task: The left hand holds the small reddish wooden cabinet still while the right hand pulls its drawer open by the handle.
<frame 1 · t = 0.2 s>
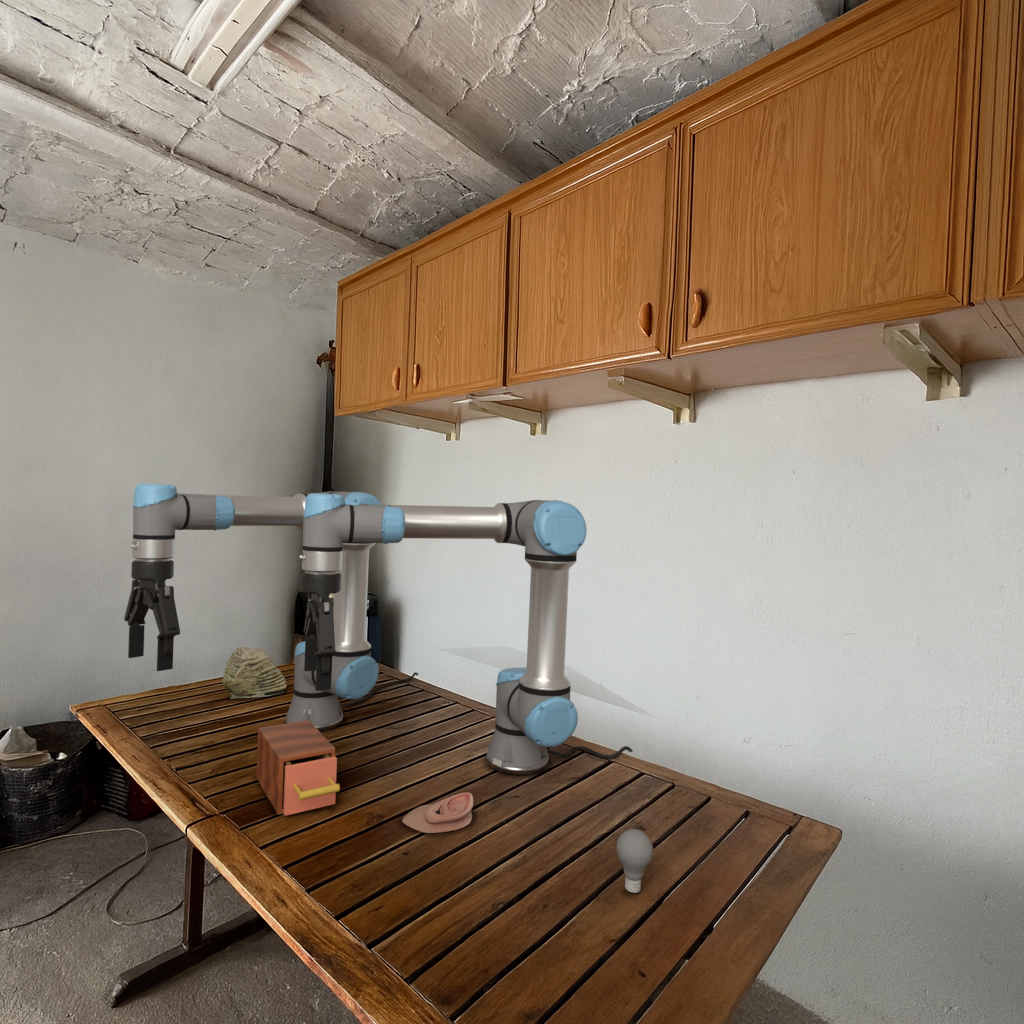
left hand: (149, 663, 129), 28 cm above the table, tool pointing down, fingers open, 13 cm apart
right hand: (316, 679, 125), 27 cm above the table, tool pointing down, fingers open, 13 cm apart
light bulb: (632, 891, 106), on the table
cabinet: (293, 789, 137), on the table
anatomical model: (438, 820, 126), on the table
fossil: (254, 694, 198), on the table
drawer: (302, 774, 131), point 6 cm above the table, slide at 1.7 cm
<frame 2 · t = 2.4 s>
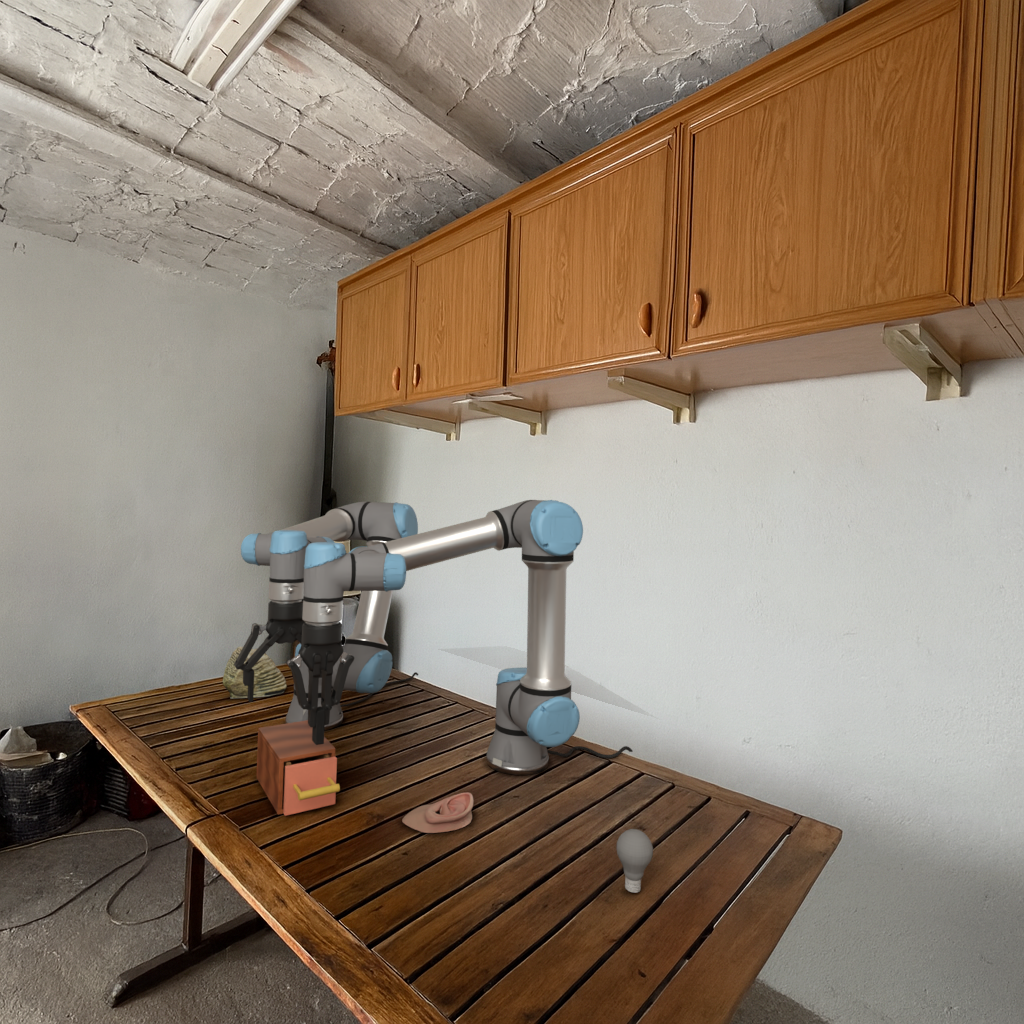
left hand: (283, 696, 140), 19 cm above the table, tool pointing down, fingers open, 13 cm apart
right hand: (317, 741, 124), 16 cm above the table, tool pointing down, fingers closed
nothing on the table moved.
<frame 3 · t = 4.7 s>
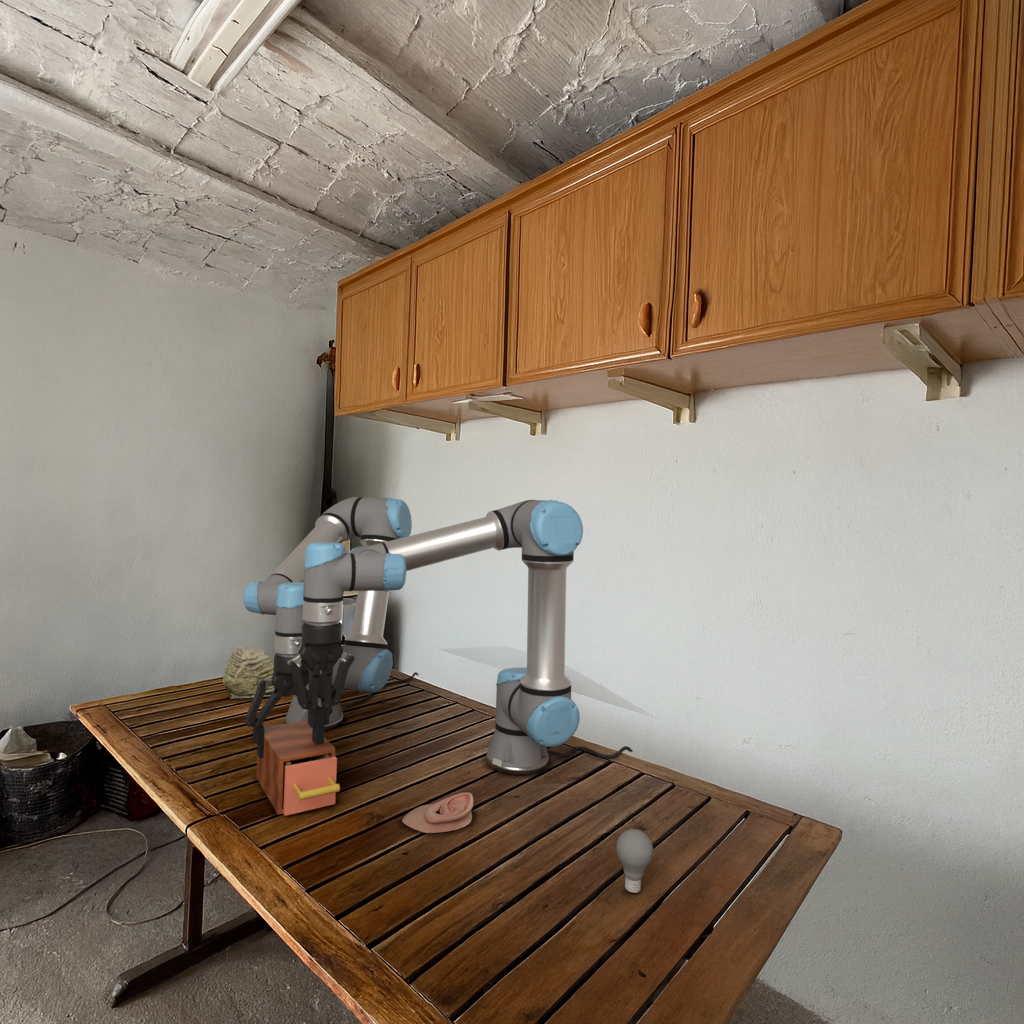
left hand: (288, 750, 141), 7 cm above the table, tool pointing down, fingers closed on cabinet, 11 cm apart
right hand: (317, 741, 124), 16 cm above the table, tool pointing down, fingers closed
cabinet: (293, 789, 137), on the table, touching left hand
everything else where it was.
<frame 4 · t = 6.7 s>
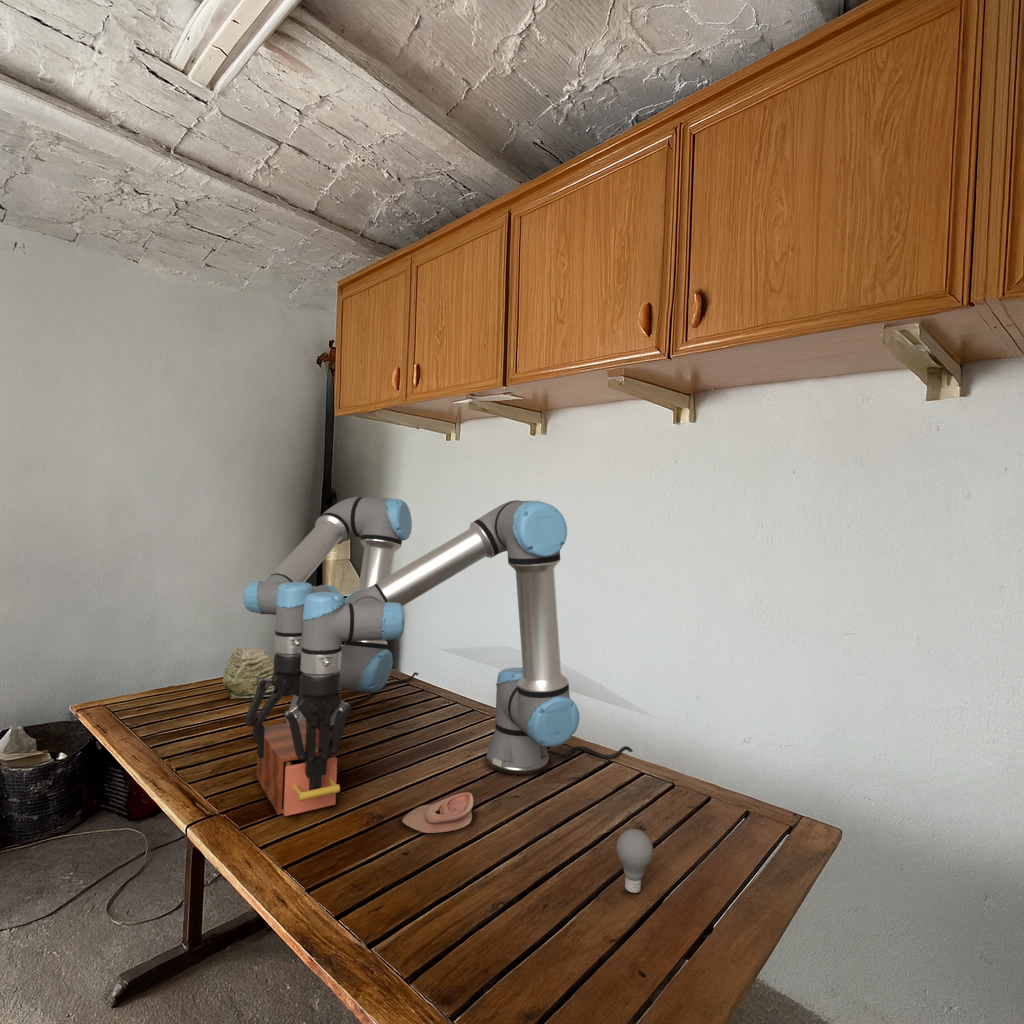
left hand: (288, 750, 141), 7 cm above the table, tool pointing down, fingers closed on cabinet, 11 cm apart
right hand: (314, 792, 124), 6 cm above the table, tool pointing down, fingers closed
cabinet: (293, 789, 137), on the table, touching left hand
everything else where it was.
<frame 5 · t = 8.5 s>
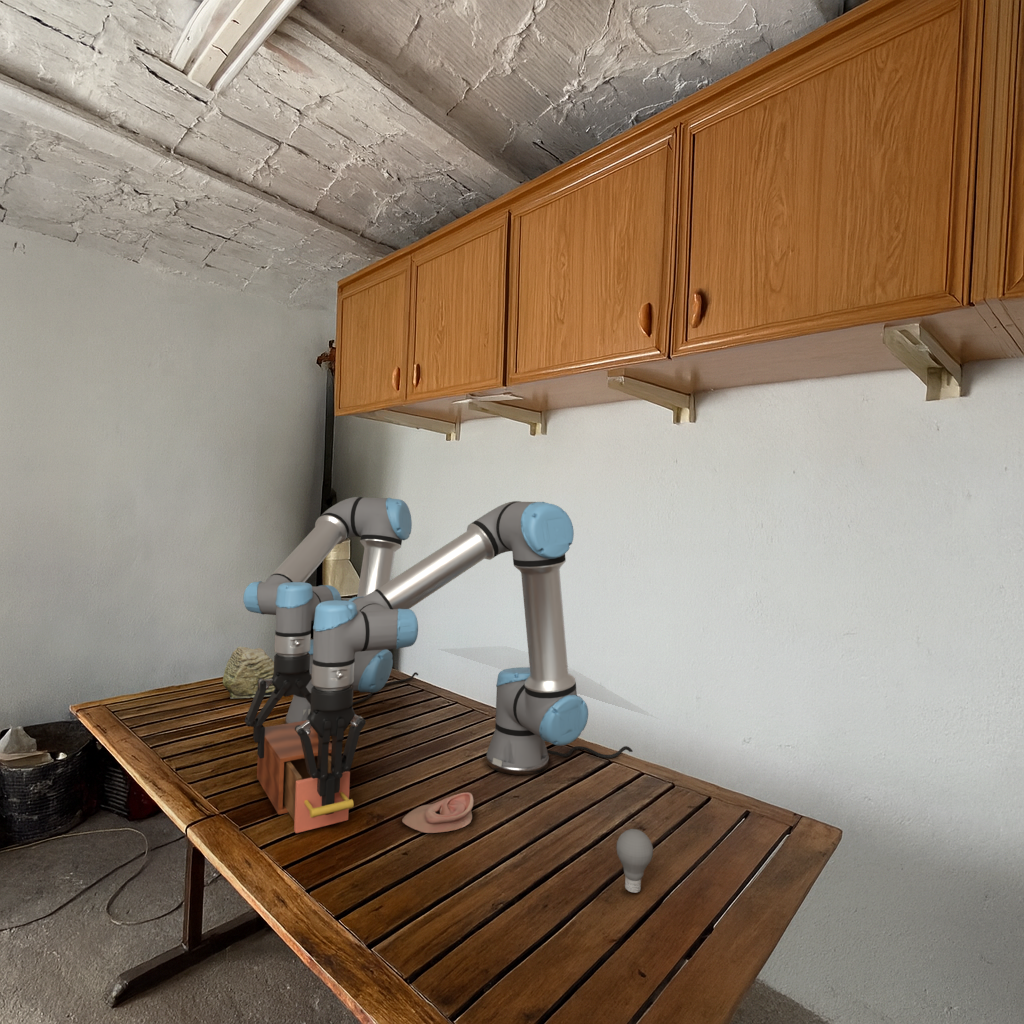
left hand: (288, 750, 141), 7 cm above the table, tool pointing down, fingers closed on cabinet, 11 cm apart
right hand: (327, 810, 118), 5 cm above the table, tool pointing down, fingers closed
cabinet: (294, 789, 137), on the table, touching left hand
drawer: (313, 789, 125), point 6 cm above the table, slide at 9.1 cm, touching right hand
everything else where it was.
when the left hand's fingers open (7 cm above the table, at t = 10.2 s): cabinet stays where it is, on the table.
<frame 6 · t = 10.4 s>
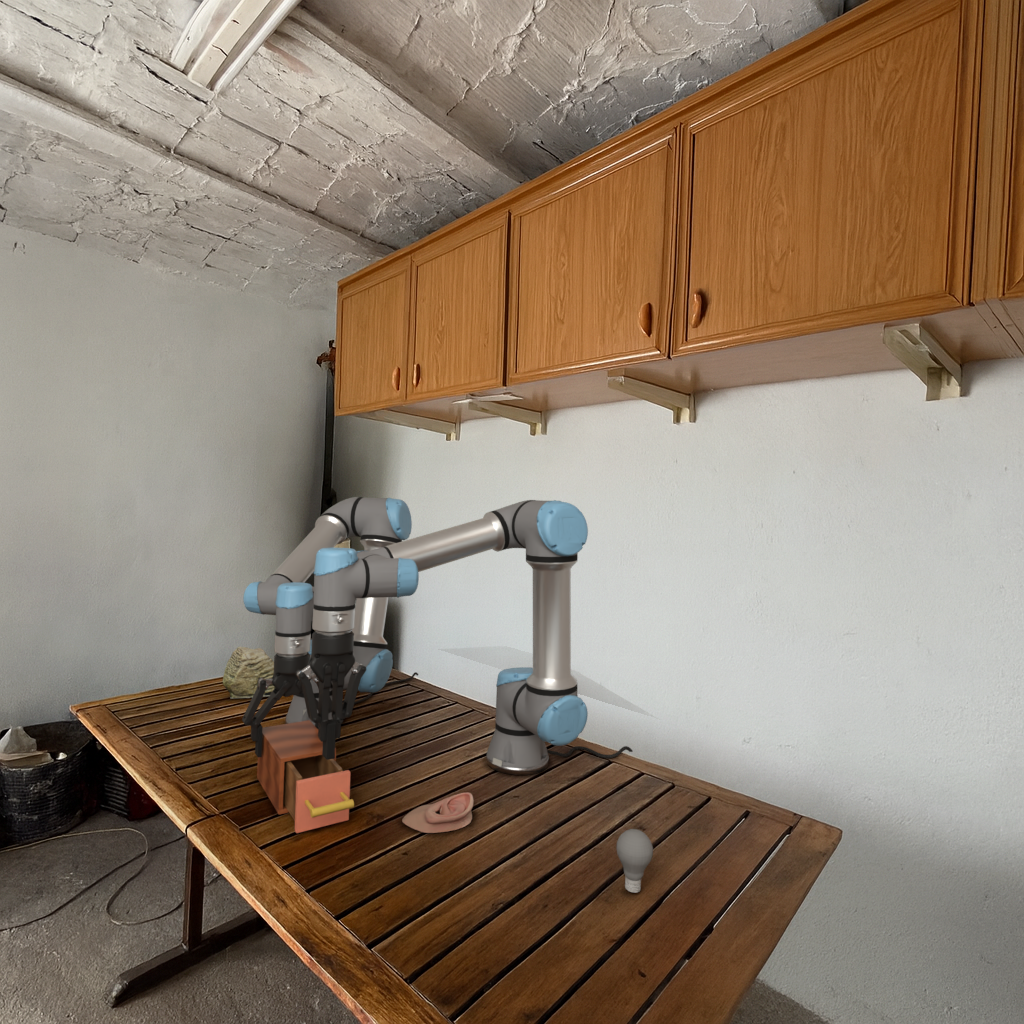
left hand: (288, 749, 141), 7 cm above the table, tool pointing down, fingers open, 12 cm apart
right hand: (328, 756, 118), 15 cm above the table, tool pointing down, fingers closed
cabinet: (294, 789, 137), on the table
drawer: (314, 789, 125), point 6 cm above the table, slide at 9.1 cm
everything else where it was.
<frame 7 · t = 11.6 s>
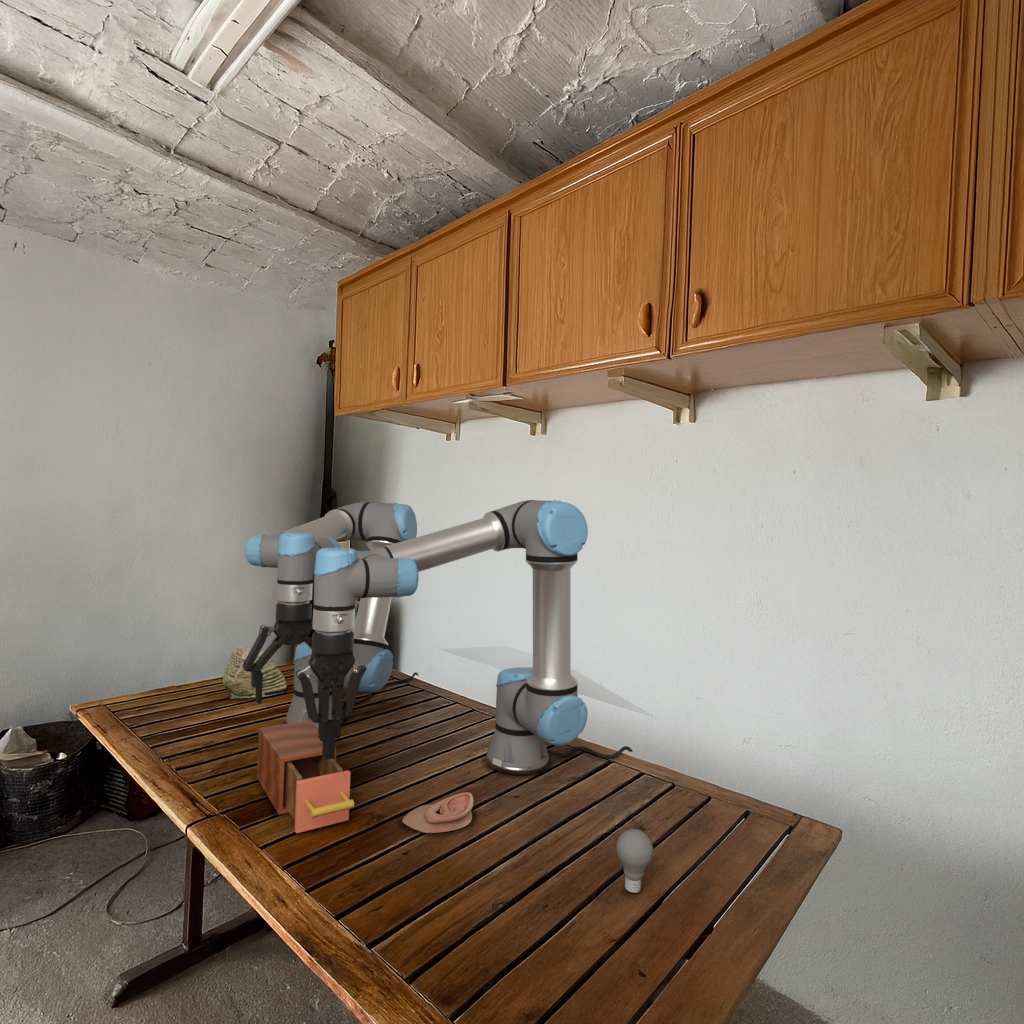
left hand: (290, 697, 141), 18 cm above the table, tool pointing down, fingers open, 13 cm apart
right hand: (328, 756, 118), 15 cm above the table, tool pointing down, fingers closed
nothing on the table moved.
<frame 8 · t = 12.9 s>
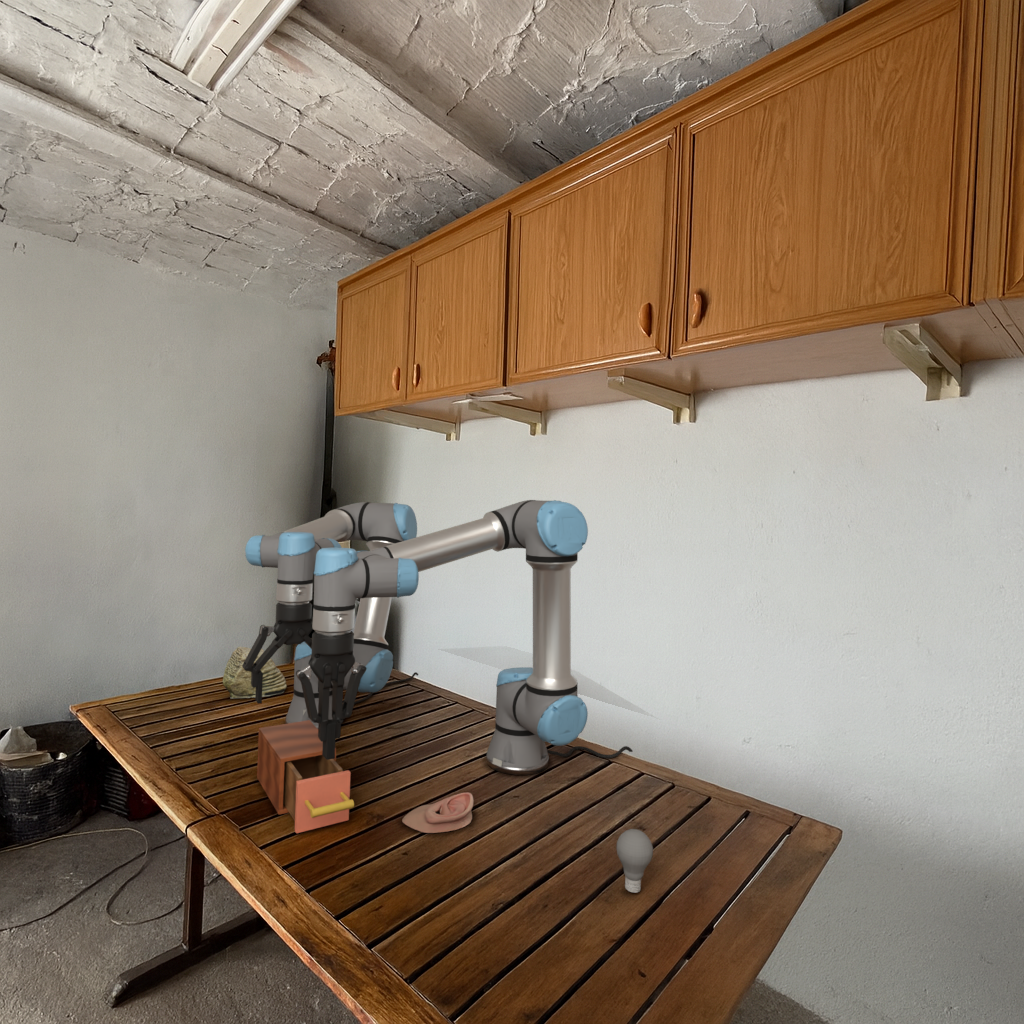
left hand: (290, 697, 141), 18 cm above the table, tool pointing down, fingers open, 13 cm apart
right hand: (328, 756, 118), 15 cm above the table, tool pointing down, fingers closed
nothing on the table moved.
at the end: drawer slide at 9.1 cm; cabinet tilted 0°; cabinet never tilted more than 1° during the clip; cabinet moved 0.2 cm from its start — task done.
